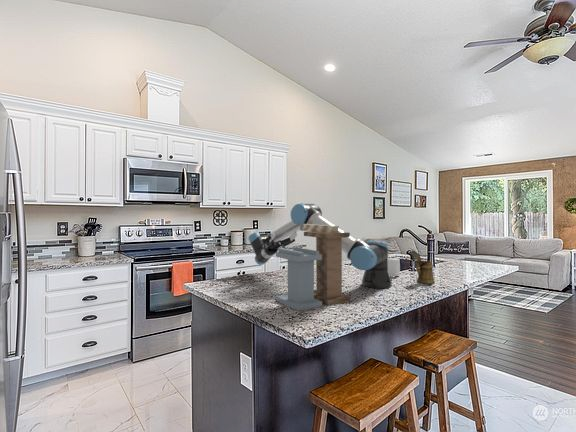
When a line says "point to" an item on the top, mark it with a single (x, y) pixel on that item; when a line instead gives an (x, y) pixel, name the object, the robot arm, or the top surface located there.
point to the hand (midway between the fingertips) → (285, 233)
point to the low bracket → (300, 278)
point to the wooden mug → (423, 269)
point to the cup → (394, 266)
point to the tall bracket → (329, 267)
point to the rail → (319, 228)
